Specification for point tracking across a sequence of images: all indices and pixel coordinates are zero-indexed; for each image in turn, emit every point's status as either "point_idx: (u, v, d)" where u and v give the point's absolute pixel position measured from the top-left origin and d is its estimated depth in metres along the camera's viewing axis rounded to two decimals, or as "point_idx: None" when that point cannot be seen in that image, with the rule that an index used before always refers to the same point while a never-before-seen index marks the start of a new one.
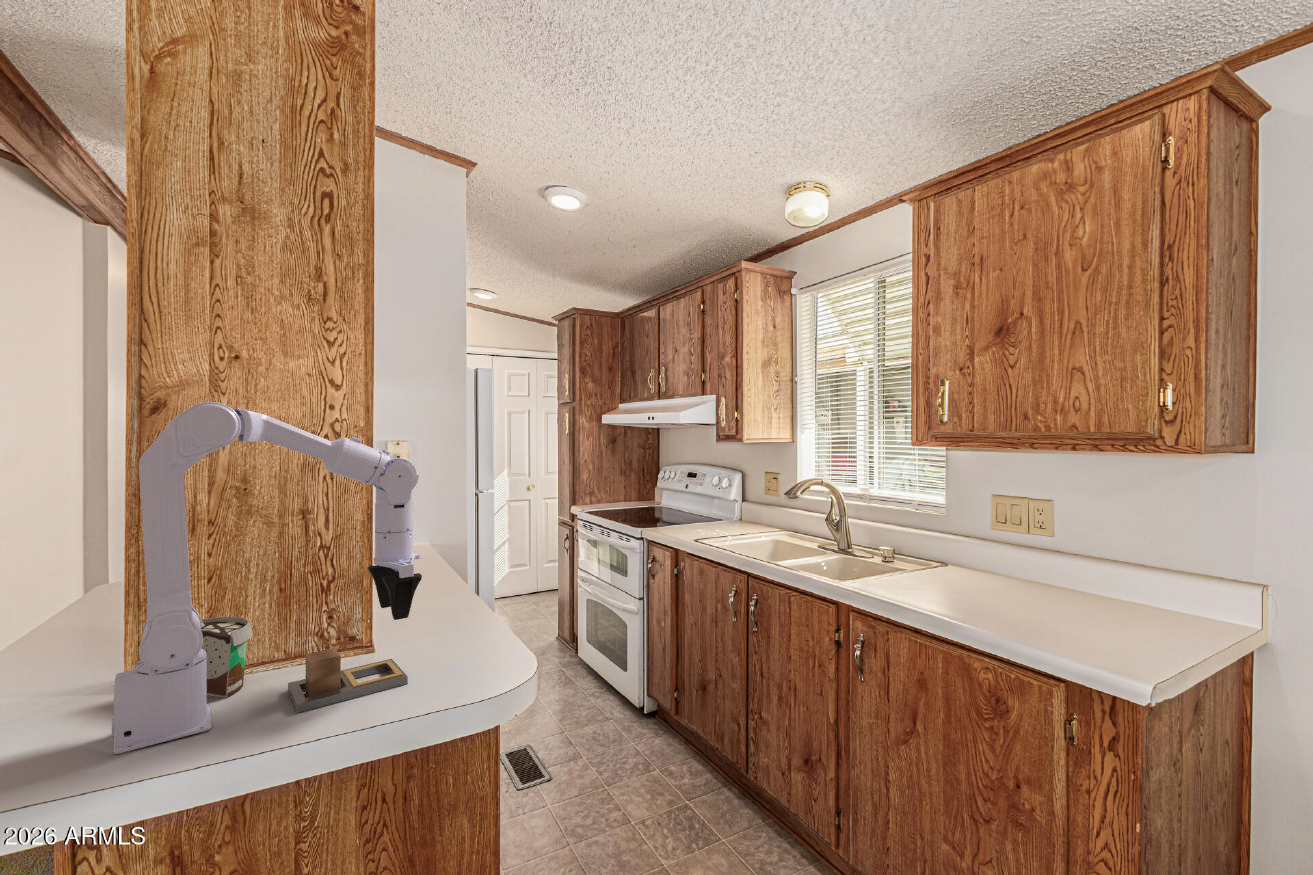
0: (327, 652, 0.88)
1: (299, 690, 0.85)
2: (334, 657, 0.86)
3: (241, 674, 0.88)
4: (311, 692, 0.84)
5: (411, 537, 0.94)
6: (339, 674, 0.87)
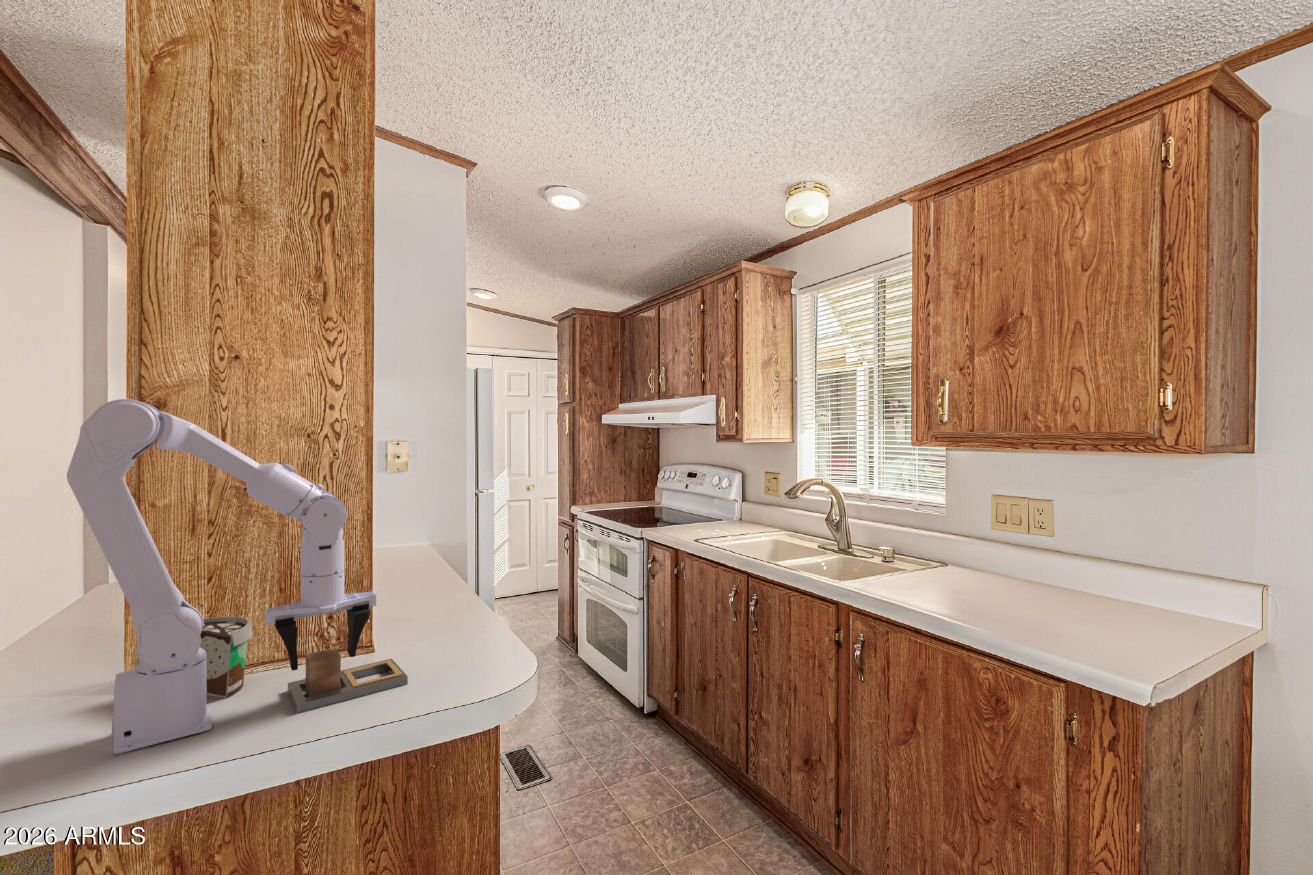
0: (327, 652, 0.88)
1: (299, 690, 0.85)
2: (334, 657, 0.86)
3: (241, 674, 0.88)
4: (311, 692, 0.84)
5: (312, 585, 0.84)
6: (339, 674, 0.87)
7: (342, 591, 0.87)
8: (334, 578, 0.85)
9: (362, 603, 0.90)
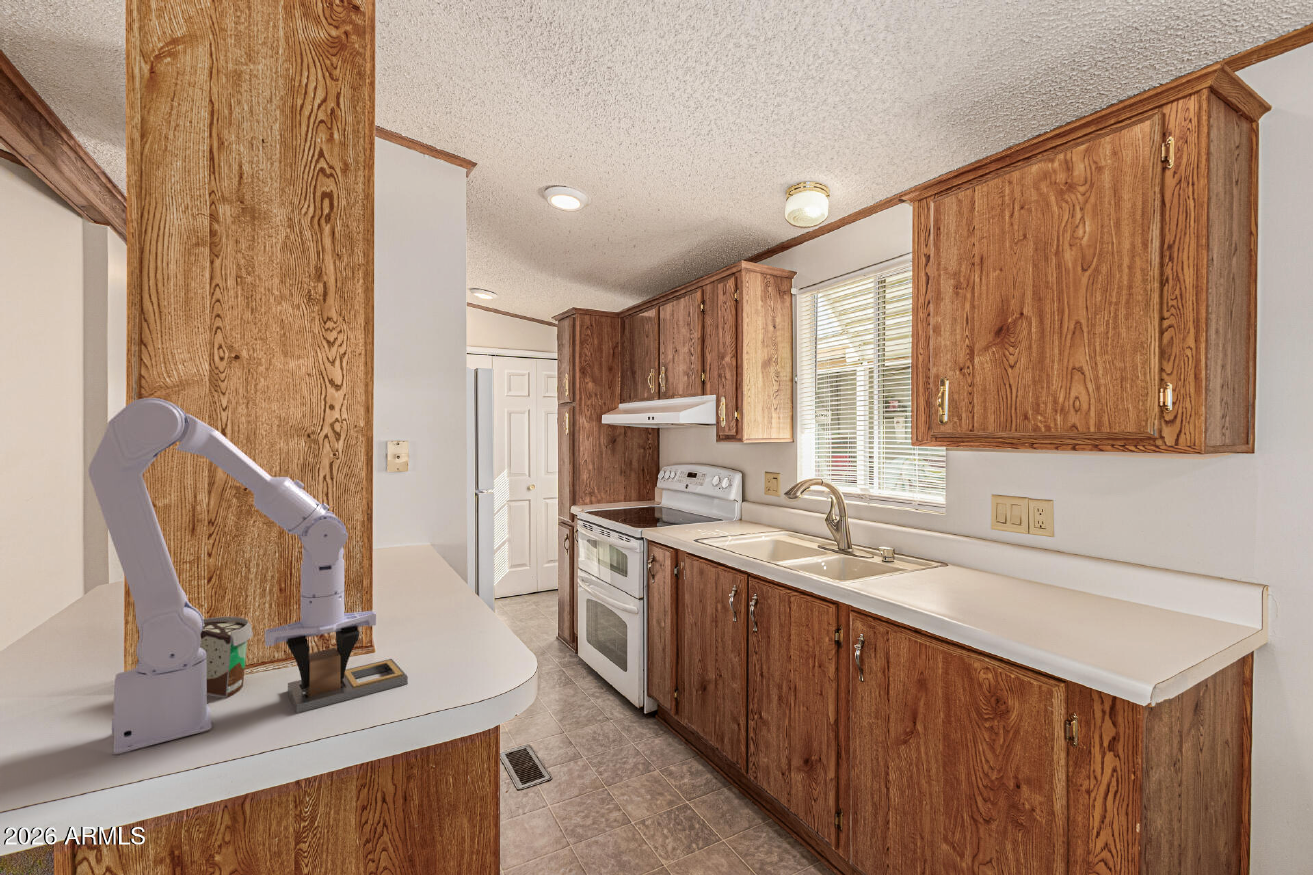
0: (327, 652, 0.88)
1: (299, 690, 0.85)
2: (334, 657, 0.86)
3: (241, 674, 0.88)
4: (311, 692, 0.84)
5: (312, 605, 0.84)
6: (339, 673, 0.87)
7: (342, 611, 0.87)
8: (334, 598, 0.85)
9: (362, 622, 0.90)
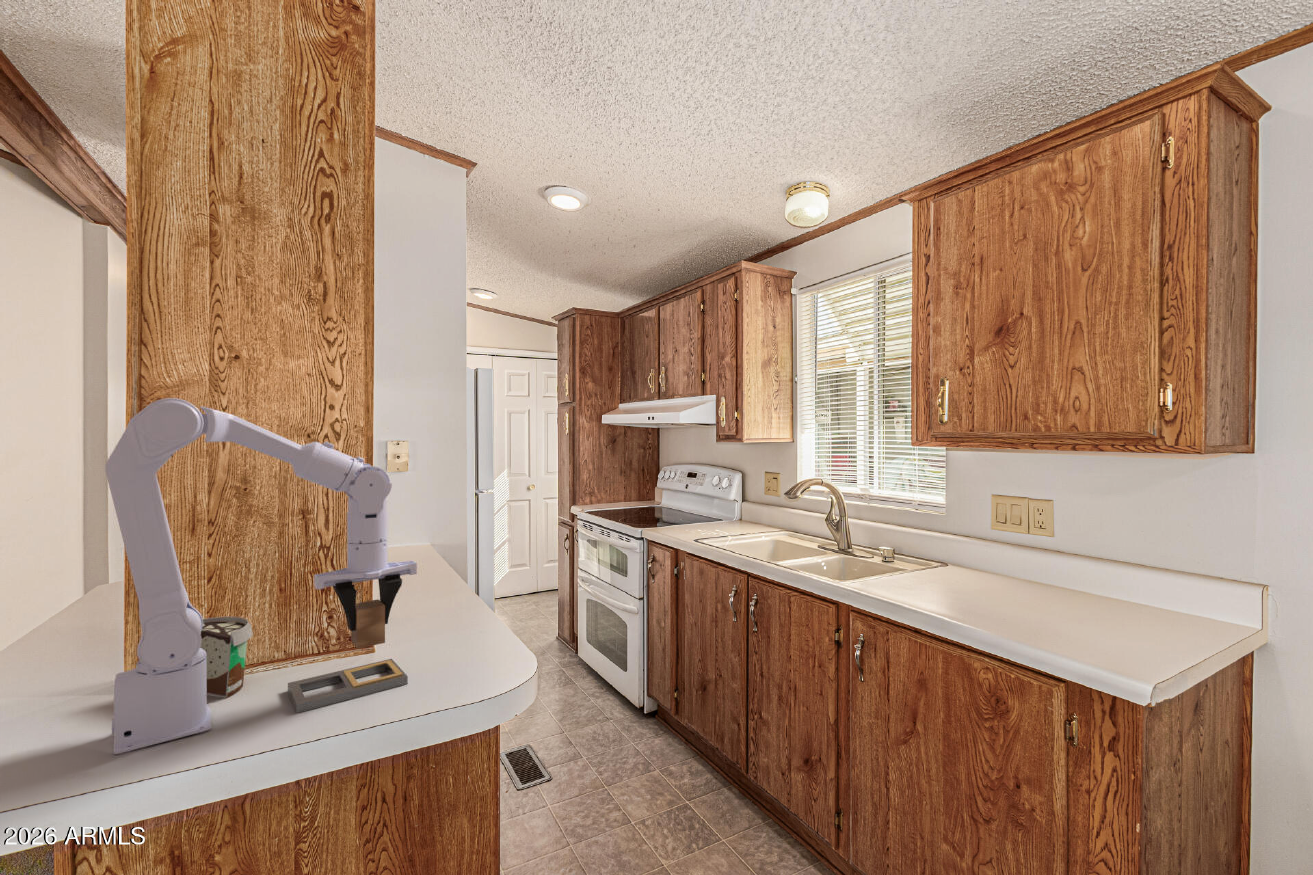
0: (371, 602, 0.92)
1: (299, 690, 0.85)
2: (379, 606, 0.90)
3: (241, 674, 0.88)
4: (358, 639, 0.88)
5: (359, 551, 0.88)
6: (384, 622, 0.90)
7: (386, 559, 0.91)
8: (379, 546, 0.89)
9: (403, 571, 0.94)
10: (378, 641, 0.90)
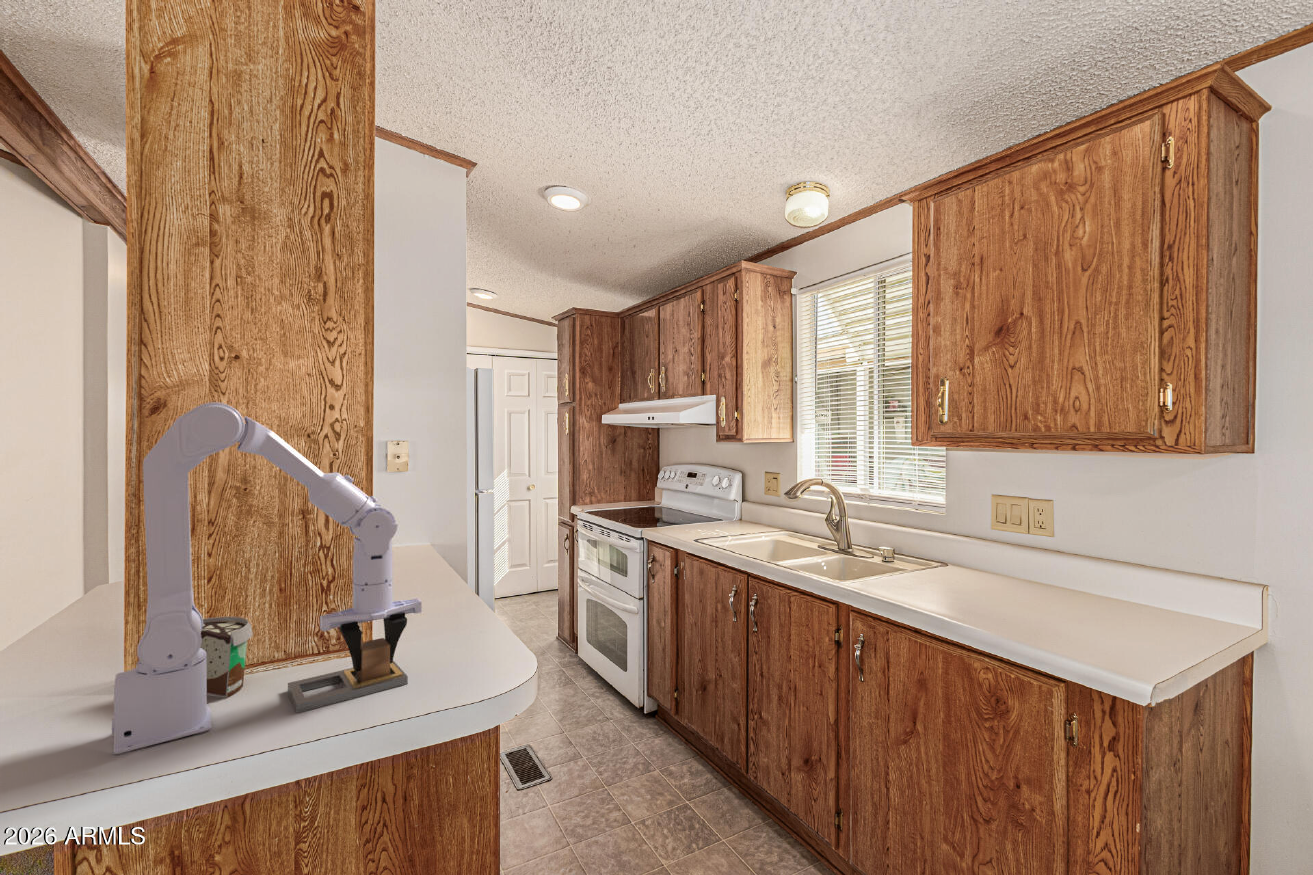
0: (376, 641, 0.92)
1: (299, 690, 0.85)
2: (384, 646, 0.91)
3: (241, 674, 0.88)
4: (363, 679, 0.89)
5: (364, 593, 0.88)
6: (389, 662, 0.91)
7: (391, 599, 0.92)
8: (384, 586, 0.90)
9: (408, 610, 0.95)
10: None
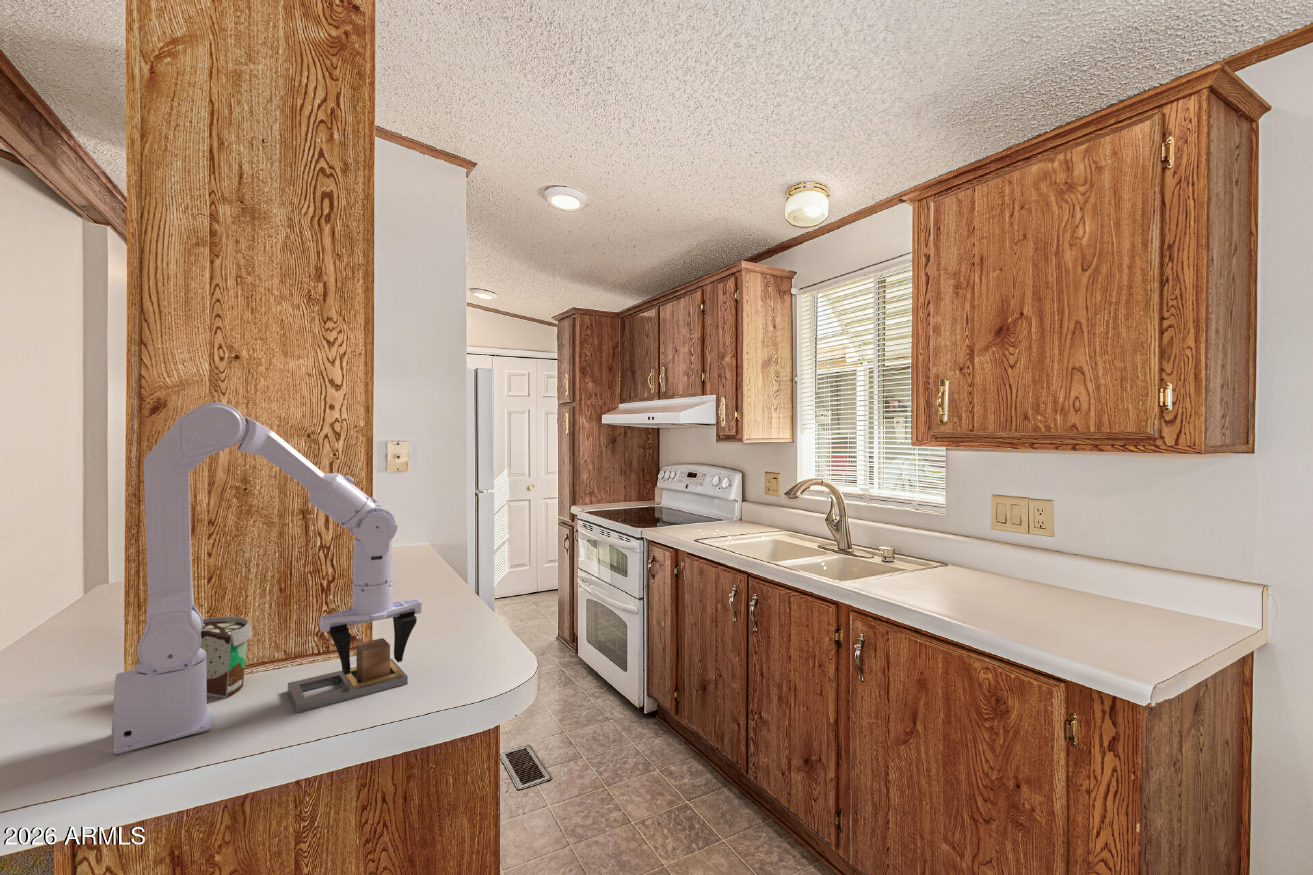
0: (376, 642, 0.92)
1: (299, 690, 0.85)
2: (384, 646, 0.91)
3: (241, 674, 0.88)
4: (363, 679, 0.89)
5: (364, 593, 0.88)
6: (389, 662, 0.91)
7: (391, 599, 0.92)
8: (384, 587, 0.90)
9: (408, 610, 0.95)
10: None
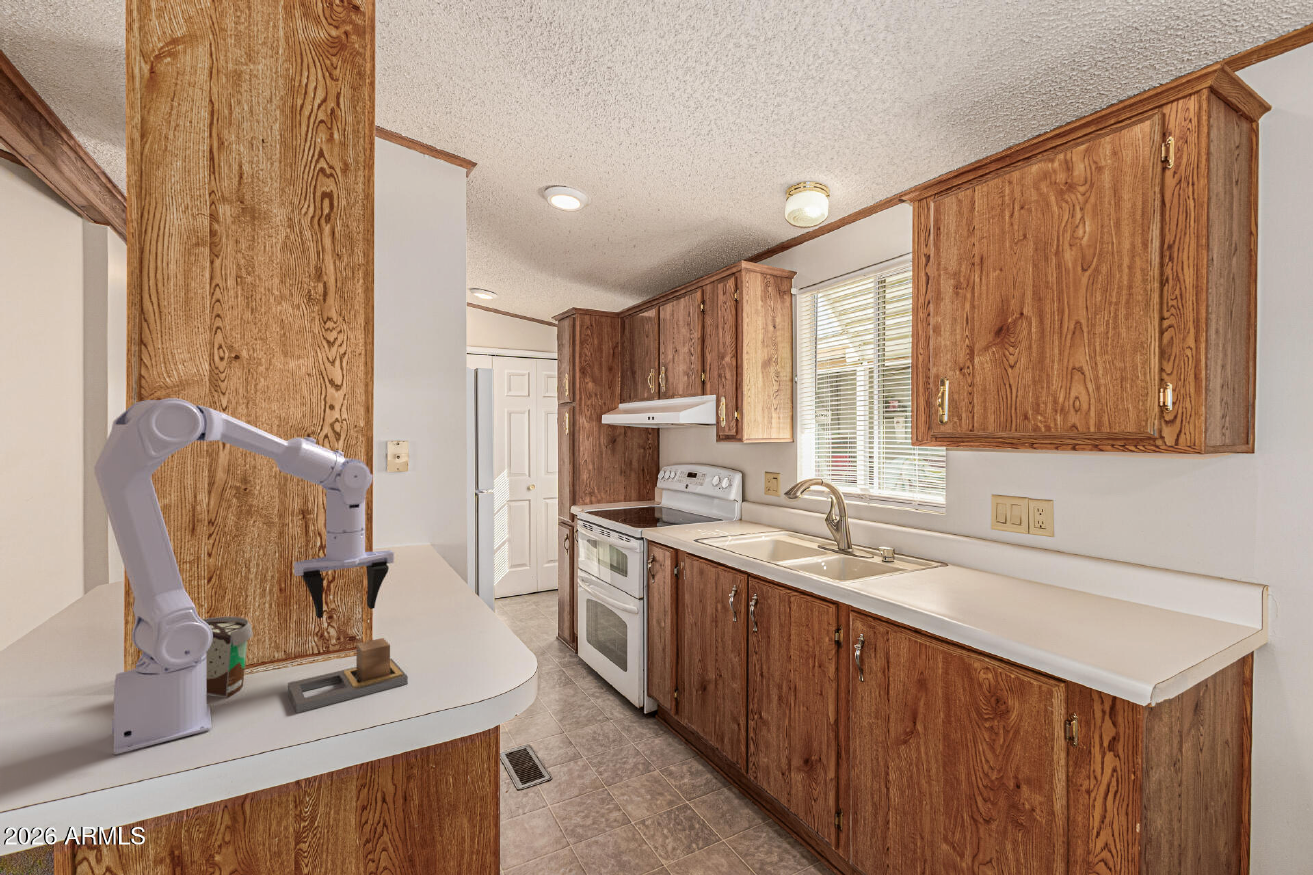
0: (376, 642, 0.92)
1: (299, 690, 0.85)
2: (385, 646, 0.91)
3: (241, 674, 0.88)
4: (363, 679, 0.89)
5: (337, 540, 0.92)
6: (389, 662, 0.91)
7: (363, 548, 0.95)
8: (356, 535, 0.94)
9: (381, 560, 0.98)
10: None
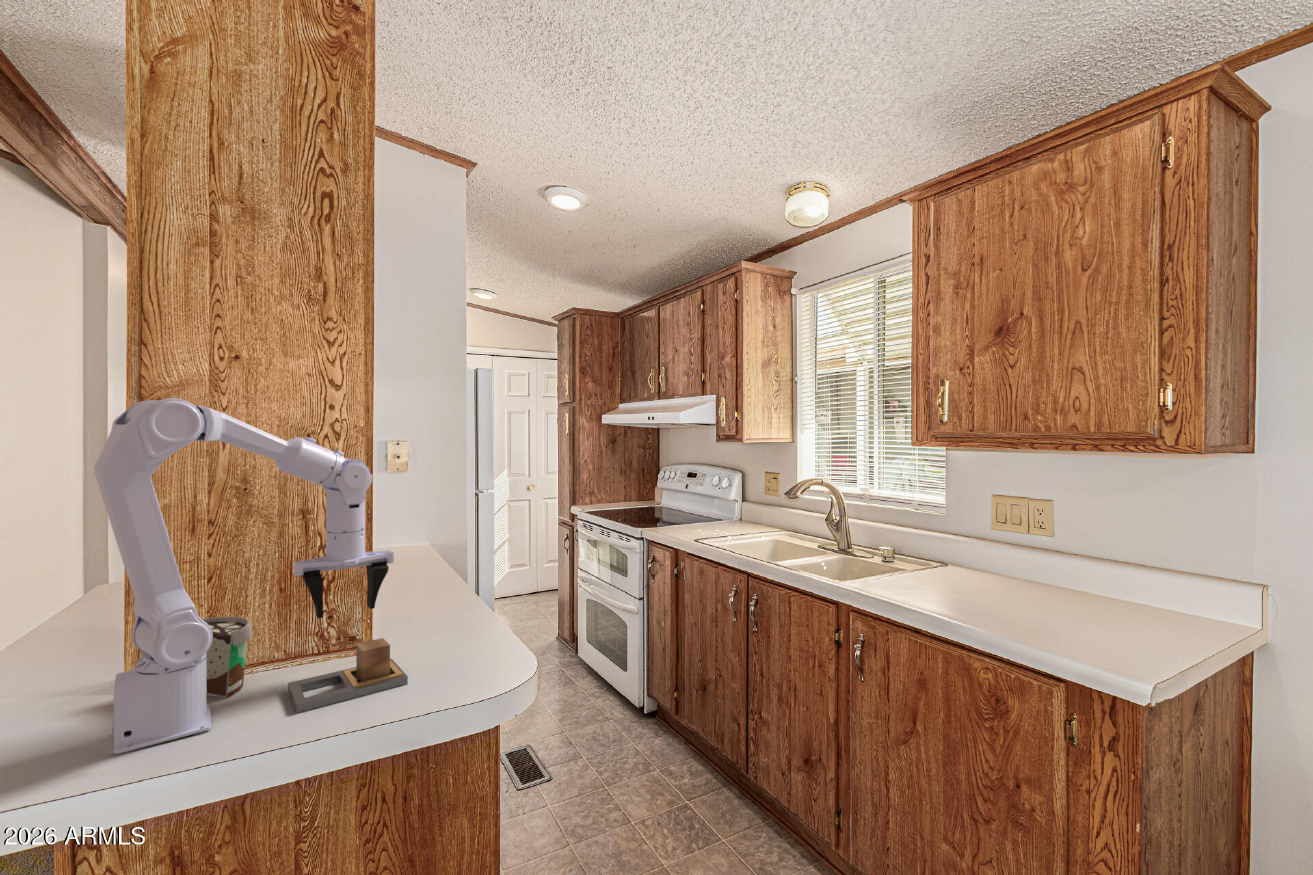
0: (376, 642, 0.92)
1: (299, 690, 0.85)
2: (384, 646, 0.91)
3: (241, 674, 0.88)
4: (363, 679, 0.89)
5: (337, 540, 0.92)
6: (389, 662, 0.91)
7: (363, 548, 0.95)
8: (356, 535, 0.94)
9: (381, 560, 0.98)
10: None
